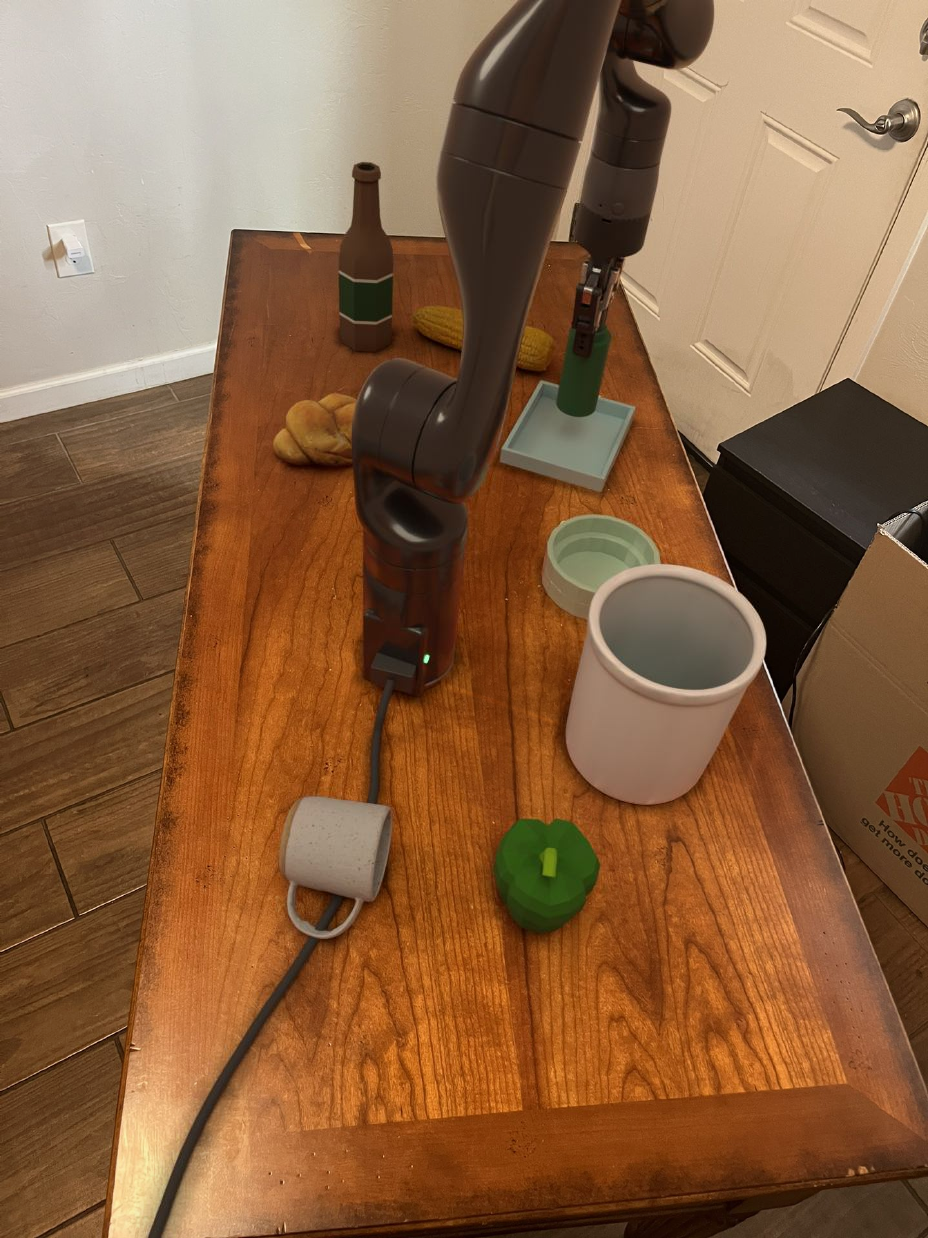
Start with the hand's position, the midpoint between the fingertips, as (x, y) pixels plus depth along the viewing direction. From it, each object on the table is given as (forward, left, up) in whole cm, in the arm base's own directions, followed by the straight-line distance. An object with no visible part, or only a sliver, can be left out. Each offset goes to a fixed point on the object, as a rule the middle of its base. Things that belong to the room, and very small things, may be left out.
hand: (588, 342), depth 110 cm
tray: (0, 0, -15) cm, 15 cm away
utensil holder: (-42, -19, -15) cm, 48 cm away
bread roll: (-15, +27, -15) cm, 34 cm away
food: (+14, +17, -15) cm, 27 cm away
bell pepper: (-61, -15, -15) cm, 65 cm away
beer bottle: (+10, +33, -15) cm, 38 cm away
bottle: (0, 0, -9) cm, 9 cm away
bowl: (-23, -10, -15) cm, 29 cm away
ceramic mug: (-66, +1, -15) cm, 68 cm away
